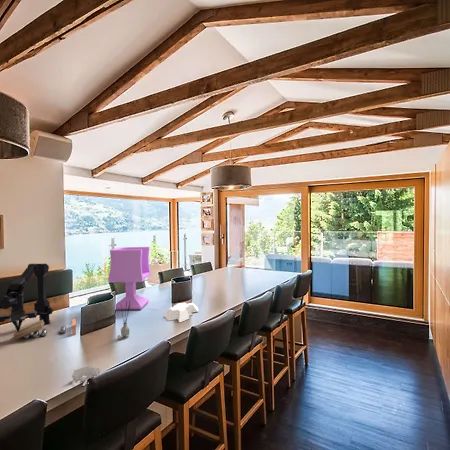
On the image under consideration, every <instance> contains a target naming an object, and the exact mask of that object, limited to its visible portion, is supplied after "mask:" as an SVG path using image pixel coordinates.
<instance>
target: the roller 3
mask: <svg viewBox="0 0 450 450" xmlns="http://www.w3.org/2000/svg"><path fill="white" fill-rule="evenodd" d="M66 331H67V327H66V325H61V326H60V329H59V332H60V334H63V335H64V334H65V333H66Z"/></svg>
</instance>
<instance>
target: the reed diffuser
mask: <svg viewBox="0 0 450 450" xmlns="http://www.w3.org/2000/svg"><path fill="white" fill-rule="evenodd" d="M129 304H130V301H129ZM120 305H121V304H120ZM126 306H127V302H126ZM129 308H130V306H129V307H128V309H127V311H124V312H125V313H124V315H123V309H122V308H121V309H120V311H121V315H122V317H125V318H122V320H123V321H122V322H123V326H122V327H121V328H120V334H121V335H120V334H118V335H117V340H121V339H122V338H123V337H128V336H129V335H130V330H131V329H130V327H129V326H128V325H127V320H128V314H129V311H130V309H129ZM126 314H127V315H126Z"/></svg>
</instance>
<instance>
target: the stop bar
mask: <svg viewBox="0 0 450 450" xmlns="http://www.w3.org/2000/svg"><path fill="white" fill-rule="evenodd" d="M71 335H72V336H74V335H75V336H76V335H77V317H72V321H71Z"/></svg>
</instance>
